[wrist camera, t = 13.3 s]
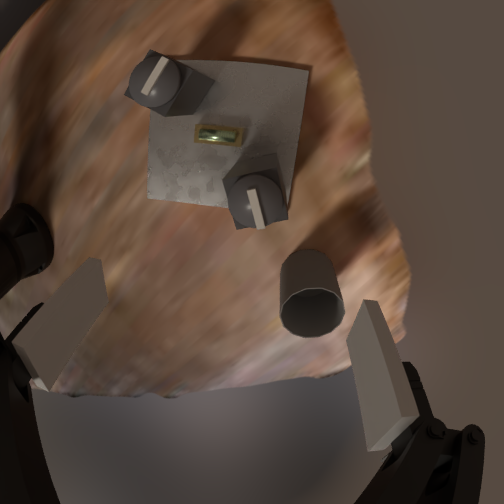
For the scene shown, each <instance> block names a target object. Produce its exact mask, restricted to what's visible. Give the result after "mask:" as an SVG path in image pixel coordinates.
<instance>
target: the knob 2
mask: <svg viewBox="0 0 504 504" xmlns="http://www.w3.org/2000/svg"><path fill="white" fill-rule="evenodd" d="M222 182H223V185H224V189H225V192H226V195H227V199H228V207H229V210H230V213H231V215H232V216H233V219H234V223H235V226H236V230H238V229H243V228H248V227H251V228H257V230H259V229H264V228H265V226H267V225H269V224H271V223H273V222H278V221H283V220H288V207H287V196H286V189H285V185H284V180H283V176H282V172H281V167H280V163H279V159H278V155H277V153H275V154H270V155H266V156H261V157H257V158H252V159H248V160H244V161H240V162H236V163H235V164H234V166H233V167H232V168H231V169H230V171H229V172H228V173H227V174H226V176H225V177H224V178H223V179H222Z"/></svg>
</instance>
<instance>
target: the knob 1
mask: <svg viewBox="0 0 504 504" xmlns="http://www.w3.org/2000/svg"><path fill="white" fill-rule="evenodd" d="M214 82H215V80H214V79H212V78H210V77H208V76H207V75H205V74H203V73H201V72H199V71H197V70H195V69H193V68H191V67H189V66H188V65H186V64H184V63H182V62H179V61H177V60H175V59H172V58H170V57H168V56H165V55H163V54H160V53H158V52H156V51H153V50H149V52H148V53H147V55H146V57H145V58H144V60H143V61H142V62H140V63H139V64H138V65H137V66H136V67H135V69H134V70H133V72H132V74H131V76H130V80H129V86H128V88H127V90H126V92H125V94H124V95H125V96H127V97H129V98H131V99H133V100H135V101H136V102H137V103H138V104H140V105H142V106H145V107H148V108H149V109H151V110H153V111H155V112H157V113H158V114H160V115H162V116H164V117H171V116H183V115H193V114H194V112H195V111H196V109H197V108H198V106H199V105H200V103H201V101H202V100H203V98H204V97H205V95H206V94H207V92H208V91H209V89H210V88H211V86H212V85H213V83H214Z"/></svg>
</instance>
